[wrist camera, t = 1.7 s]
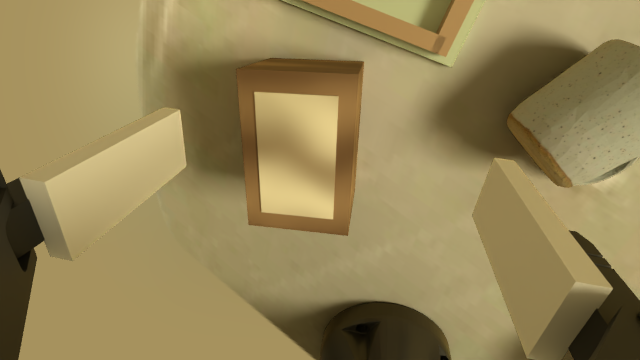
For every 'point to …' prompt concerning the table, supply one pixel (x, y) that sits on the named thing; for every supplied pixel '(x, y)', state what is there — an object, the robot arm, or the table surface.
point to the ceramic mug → (585, 118)
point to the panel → (405, 22)
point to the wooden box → (300, 142)
